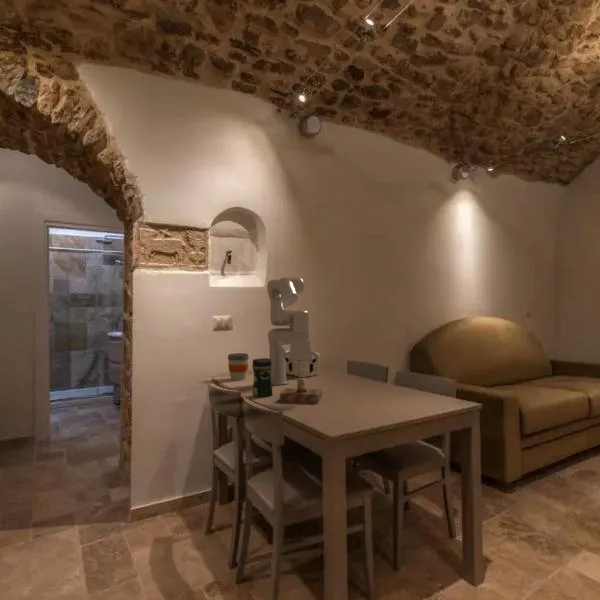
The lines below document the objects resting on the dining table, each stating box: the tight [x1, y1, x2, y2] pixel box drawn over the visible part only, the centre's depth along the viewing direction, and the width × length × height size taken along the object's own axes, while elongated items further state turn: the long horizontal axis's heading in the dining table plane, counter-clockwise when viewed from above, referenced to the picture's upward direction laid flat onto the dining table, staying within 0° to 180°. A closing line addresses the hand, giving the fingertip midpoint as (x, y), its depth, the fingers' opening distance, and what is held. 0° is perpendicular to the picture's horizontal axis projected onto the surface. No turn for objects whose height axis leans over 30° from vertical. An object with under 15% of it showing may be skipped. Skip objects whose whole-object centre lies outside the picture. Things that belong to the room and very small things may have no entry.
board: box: [279, 387, 323, 404], centre depth 206 cm, size 18×12×4 cm, turn 79°
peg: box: [296, 377, 306, 393], centre depth 206 cm, size 4×4×10 cm
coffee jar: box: [251, 357, 273, 398], centre depth 216 cm, size 10×8×19 cm
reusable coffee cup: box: [227, 352, 250, 381], centre depth 262 cm, size 13×13×15 cm
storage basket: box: [285, 350, 321, 378], centre depth 278 cm, size 24×16×15 cm
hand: (300, 371), depth 206 cm, fingers open, 9 cm apart
